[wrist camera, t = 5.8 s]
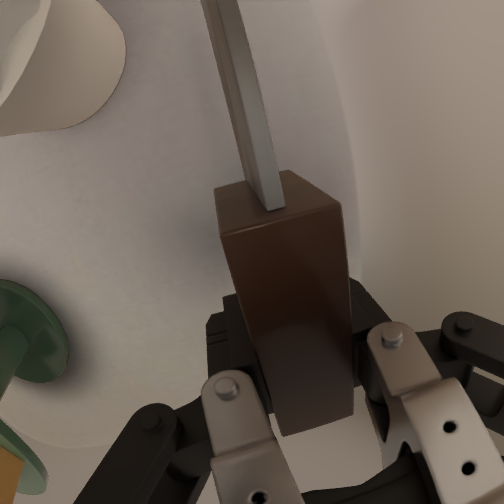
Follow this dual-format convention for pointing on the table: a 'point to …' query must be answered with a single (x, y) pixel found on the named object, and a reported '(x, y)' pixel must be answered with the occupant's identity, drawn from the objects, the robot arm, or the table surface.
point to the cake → (9, 475)
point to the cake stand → (28, 365)
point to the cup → (56, 63)
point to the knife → (282, 253)
